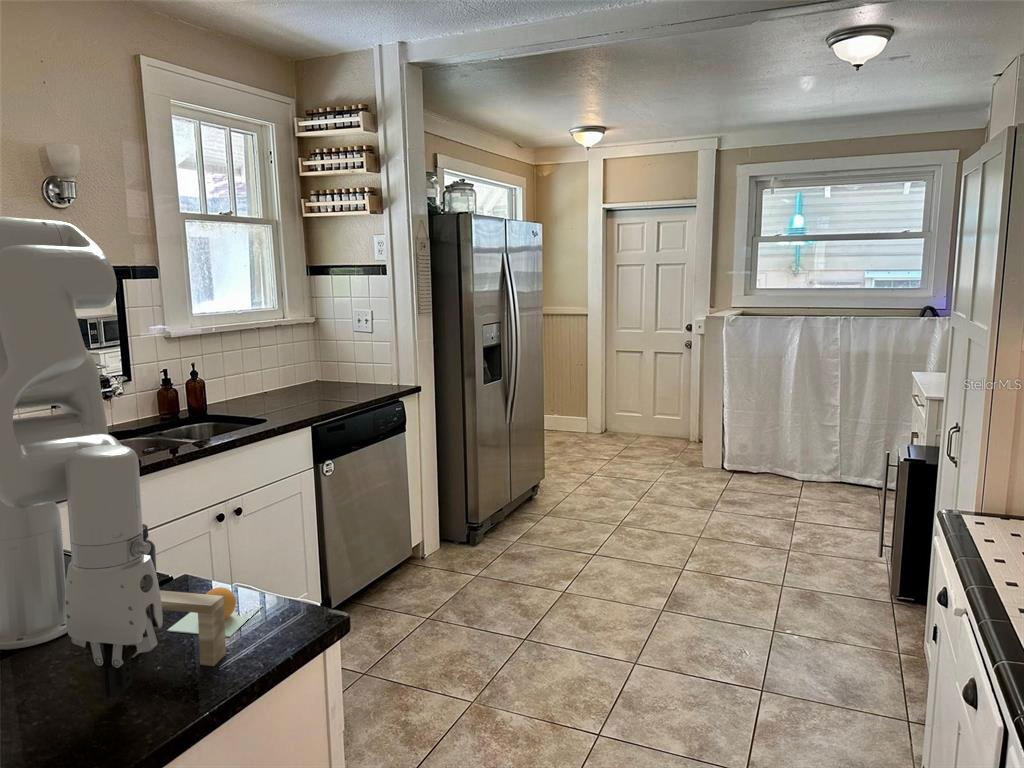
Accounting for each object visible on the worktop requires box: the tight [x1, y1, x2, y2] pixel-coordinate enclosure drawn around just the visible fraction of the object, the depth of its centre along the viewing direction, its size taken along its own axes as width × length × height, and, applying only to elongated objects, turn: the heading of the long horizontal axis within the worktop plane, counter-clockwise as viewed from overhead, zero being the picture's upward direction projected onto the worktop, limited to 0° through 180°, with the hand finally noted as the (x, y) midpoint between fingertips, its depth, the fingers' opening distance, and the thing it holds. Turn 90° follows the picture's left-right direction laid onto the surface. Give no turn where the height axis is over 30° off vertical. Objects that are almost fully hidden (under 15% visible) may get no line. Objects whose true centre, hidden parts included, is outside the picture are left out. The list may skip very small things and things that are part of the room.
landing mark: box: [166, 604, 264, 638], centre depth 108 cm, size 10×10×1 cm
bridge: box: [131, 589, 227, 667], centre depth 97 cm, size 3×14×9 cm, turn 82°
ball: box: [205, 587, 237, 619], centre depth 107 cm, size 5×5×5 cm
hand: (117, 690), depth 86 cm, fingers closed
